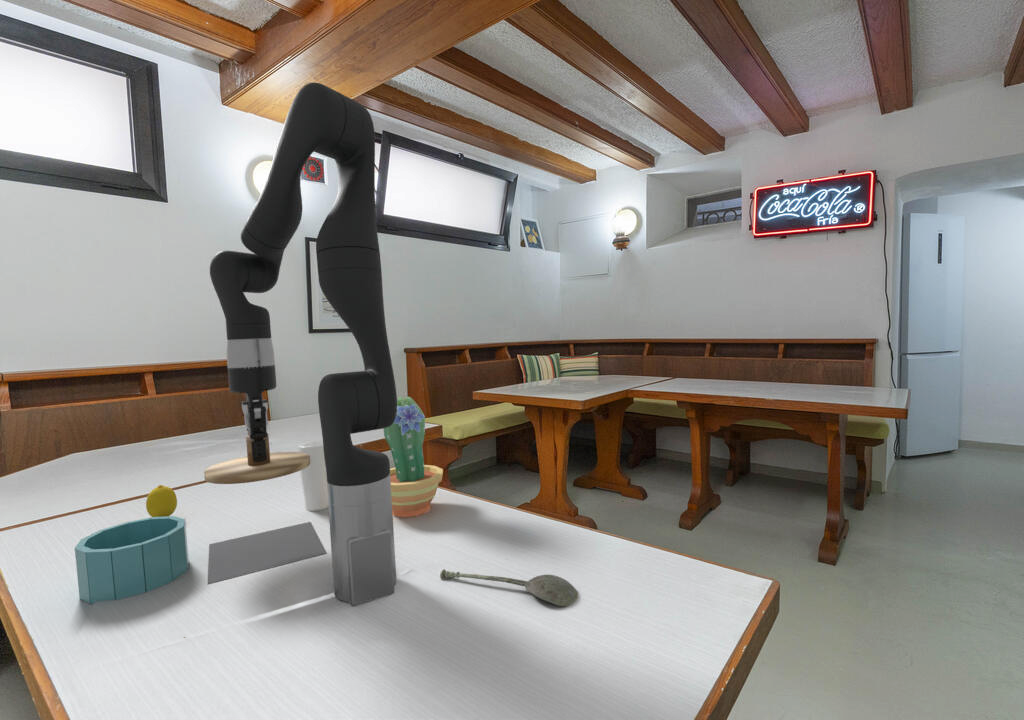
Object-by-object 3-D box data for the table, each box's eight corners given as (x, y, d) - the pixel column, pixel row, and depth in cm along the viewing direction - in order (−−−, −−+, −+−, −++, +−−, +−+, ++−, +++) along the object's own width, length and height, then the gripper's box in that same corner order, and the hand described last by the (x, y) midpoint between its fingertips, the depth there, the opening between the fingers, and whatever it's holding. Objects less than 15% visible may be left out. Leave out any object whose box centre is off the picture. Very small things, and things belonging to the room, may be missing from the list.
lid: (317, 470, 86) (315, 435, 85) (203, 490, 77) (200, 451, 76) (302, 453, 100) (300, 423, 100) (205, 468, 91) (202, 436, 91)
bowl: (186, 584, 78) (181, 536, 78) (70, 614, 71) (65, 560, 70) (190, 552, 90) (186, 510, 90) (92, 575, 83) (87, 529, 82)
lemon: (184, 515, 110) (181, 481, 110) (164, 525, 105) (161, 489, 104) (161, 516, 111) (158, 481, 110) (141, 525, 105) (137, 489, 105)
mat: (327, 556, 86) (326, 553, 86) (207, 587, 77) (207, 584, 77) (310, 524, 102) (310, 521, 102) (209, 546, 92) (209, 544, 92)
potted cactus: (362, 522, 101) (354, 403, 100) (390, 497, 116) (384, 393, 115) (434, 523, 99) (427, 401, 98) (453, 497, 114) (448, 392, 113)
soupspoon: (572, 620, 66) (583, 597, 72) (572, 595, 66) (584, 574, 72) (431, 589, 74) (452, 570, 80) (432, 567, 74) (452, 550, 80)
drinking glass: (327, 513, 108) (322, 446, 107) (296, 514, 108) (291, 447, 107) (338, 502, 114) (334, 439, 113) (310, 503, 114) (305, 440, 114)
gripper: (279, 363, 83) (286, 463, 84) (271, 362, 95) (277, 449, 96) (228, 367, 79) (236, 471, 80) (226, 365, 92) (233, 455, 92)
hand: (258, 458), depth 88 cm, fingers closed on lid, 3 cm apart
